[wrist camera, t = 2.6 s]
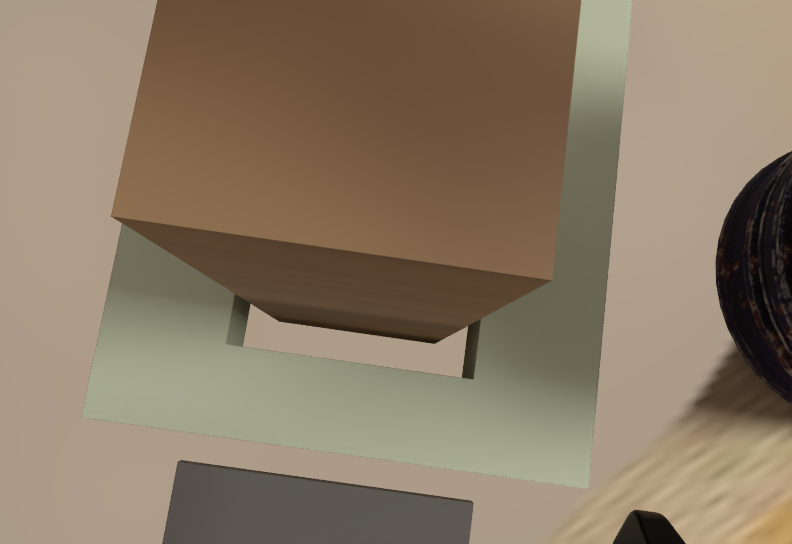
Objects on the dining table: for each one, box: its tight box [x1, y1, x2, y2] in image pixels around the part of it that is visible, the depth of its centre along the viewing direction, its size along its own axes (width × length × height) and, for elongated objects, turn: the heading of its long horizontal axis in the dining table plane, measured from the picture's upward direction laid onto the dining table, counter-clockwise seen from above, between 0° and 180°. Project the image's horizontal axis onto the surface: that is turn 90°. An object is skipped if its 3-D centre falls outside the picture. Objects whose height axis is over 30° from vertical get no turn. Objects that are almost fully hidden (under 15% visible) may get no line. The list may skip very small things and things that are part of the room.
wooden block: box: [111, 0, 581, 344], centre depth 15 cm, size 5×5×14 cm
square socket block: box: [81, 0, 633, 489], centre depth 21 cm, size 16×14×2 cm
